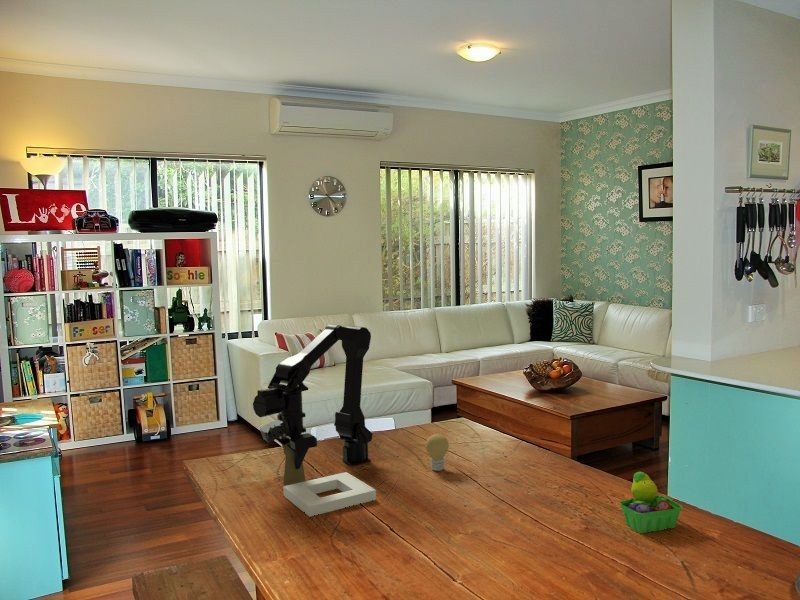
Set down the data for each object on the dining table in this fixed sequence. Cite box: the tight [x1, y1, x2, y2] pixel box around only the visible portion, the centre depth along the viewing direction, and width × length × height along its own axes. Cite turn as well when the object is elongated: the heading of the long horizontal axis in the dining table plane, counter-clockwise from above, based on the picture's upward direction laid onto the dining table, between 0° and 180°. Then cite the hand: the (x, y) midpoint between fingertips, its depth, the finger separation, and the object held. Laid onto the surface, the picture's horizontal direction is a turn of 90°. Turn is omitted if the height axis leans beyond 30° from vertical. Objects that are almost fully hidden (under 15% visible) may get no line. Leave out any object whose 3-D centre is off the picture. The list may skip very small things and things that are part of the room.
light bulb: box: [425, 433, 450, 472], centre depth 188 cm, size 6×6×10 cm
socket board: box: [282, 471, 377, 518], centre depth 170 cm, size 18×16×2 cm
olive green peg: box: [282, 442, 307, 486], centre depth 181 cm, size 6×6×11 cm
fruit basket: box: [619, 471, 683, 534], centre depth 149 cm, size 11×9×11 cm
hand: (293, 466), depth 181 cm, fingers closed on olive green peg, 4 cm apart
